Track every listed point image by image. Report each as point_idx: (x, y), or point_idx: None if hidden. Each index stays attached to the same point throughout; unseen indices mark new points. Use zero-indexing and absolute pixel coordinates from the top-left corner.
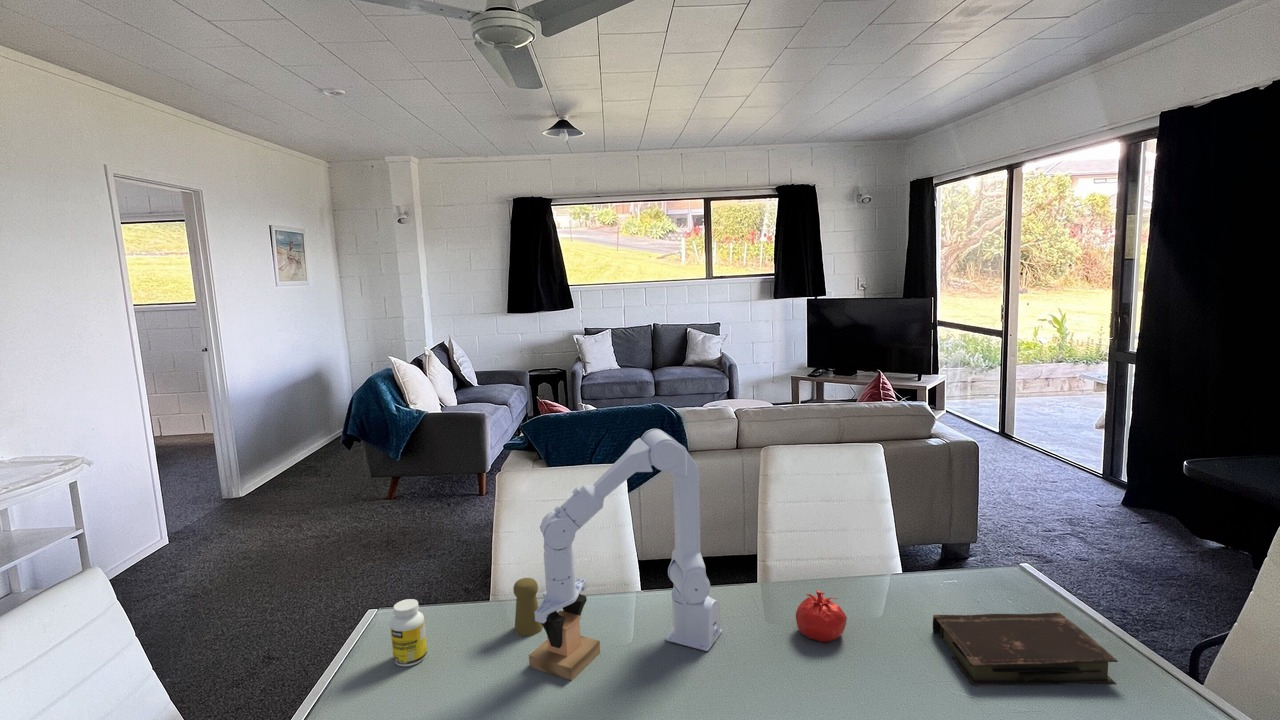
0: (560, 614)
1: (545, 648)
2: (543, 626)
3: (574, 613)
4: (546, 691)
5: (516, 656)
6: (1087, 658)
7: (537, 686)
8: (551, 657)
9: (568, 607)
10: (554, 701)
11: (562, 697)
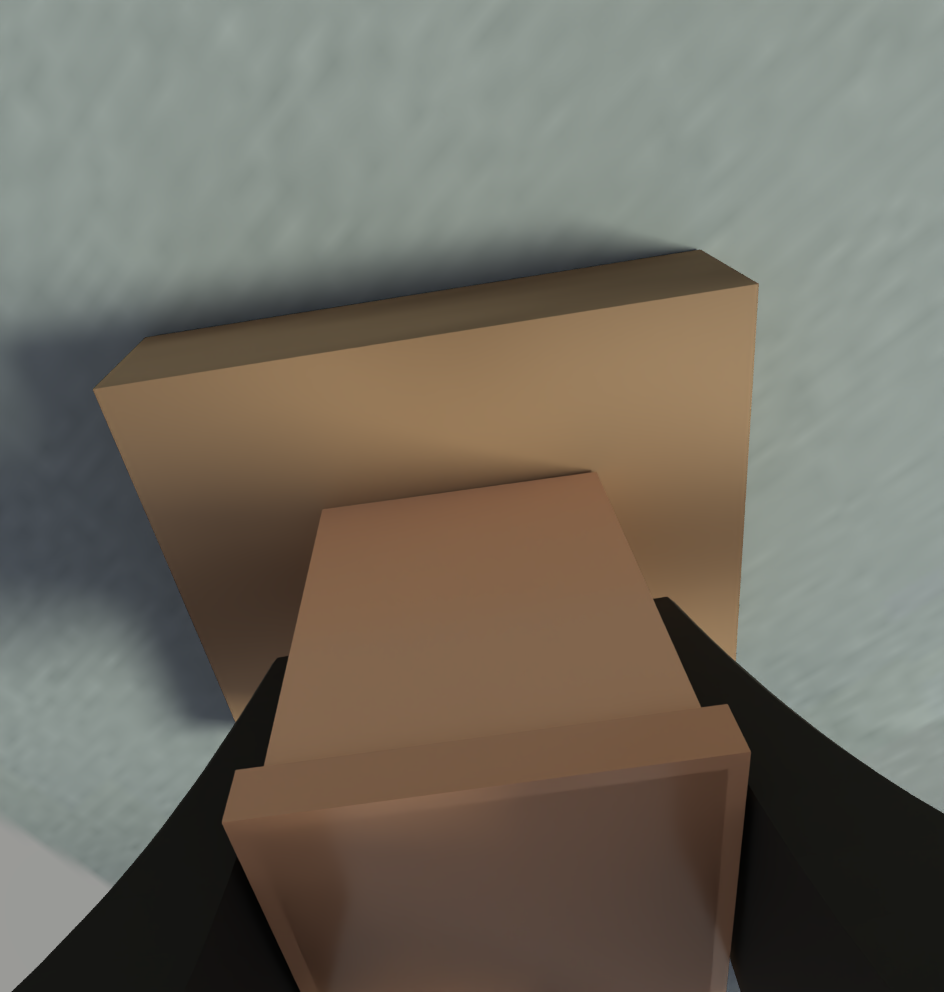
0: (620, 838)
1: (330, 452)
2: (79, 938)
3: (746, 955)
4: (67, 682)
5: (145, 7)
6: None
7: (41, 596)
8: (261, 612)
9: (792, 986)
10: (52, 779)
11: (122, 787)
